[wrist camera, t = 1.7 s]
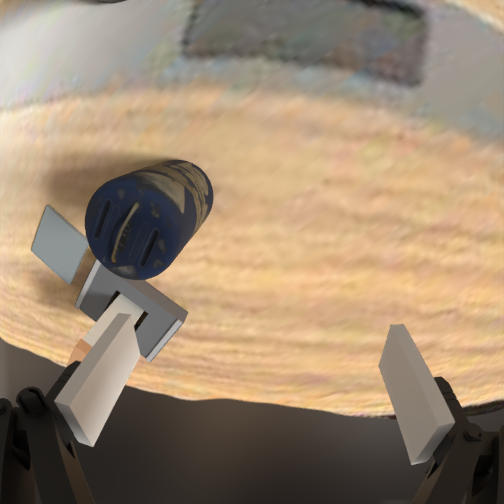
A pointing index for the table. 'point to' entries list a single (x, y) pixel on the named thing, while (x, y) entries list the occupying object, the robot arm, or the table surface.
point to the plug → (105, 326)
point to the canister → (147, 217)
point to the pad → (59, 245)
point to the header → (143, 295)
